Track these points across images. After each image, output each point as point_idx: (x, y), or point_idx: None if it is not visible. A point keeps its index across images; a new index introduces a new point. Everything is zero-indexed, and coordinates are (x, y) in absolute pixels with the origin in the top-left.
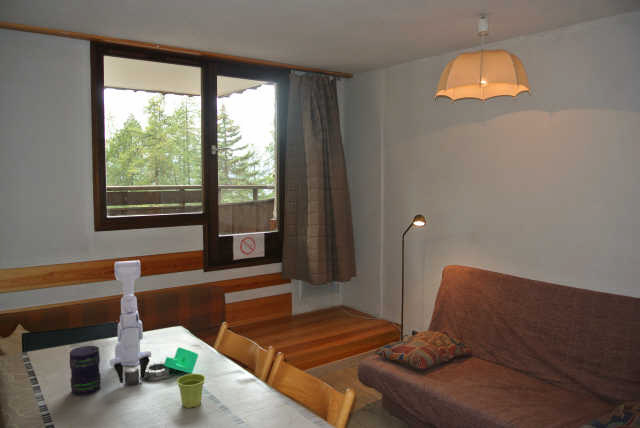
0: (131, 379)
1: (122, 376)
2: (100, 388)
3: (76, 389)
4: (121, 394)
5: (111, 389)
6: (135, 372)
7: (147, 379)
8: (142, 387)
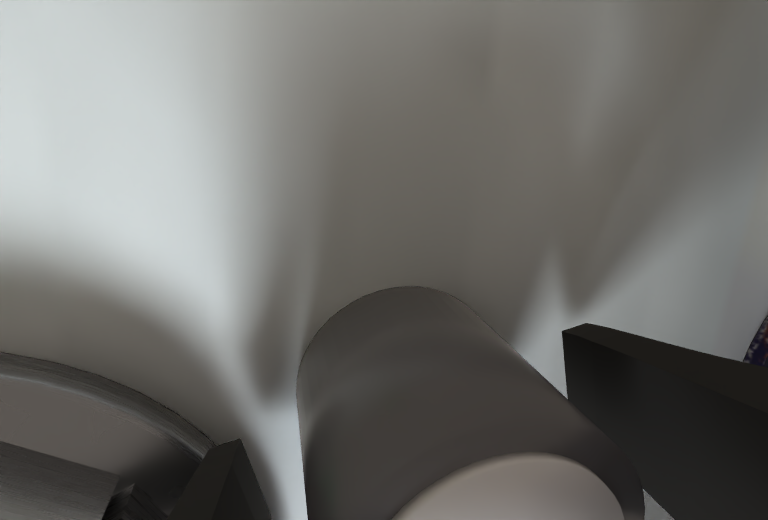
0: (459, 338)
1: (682, 369)
2: (747, 358)
3: None
4: (594, 24)
5: (660, 286)
6: (417, 450)
7: (148, 418)
8: (247, 157)
